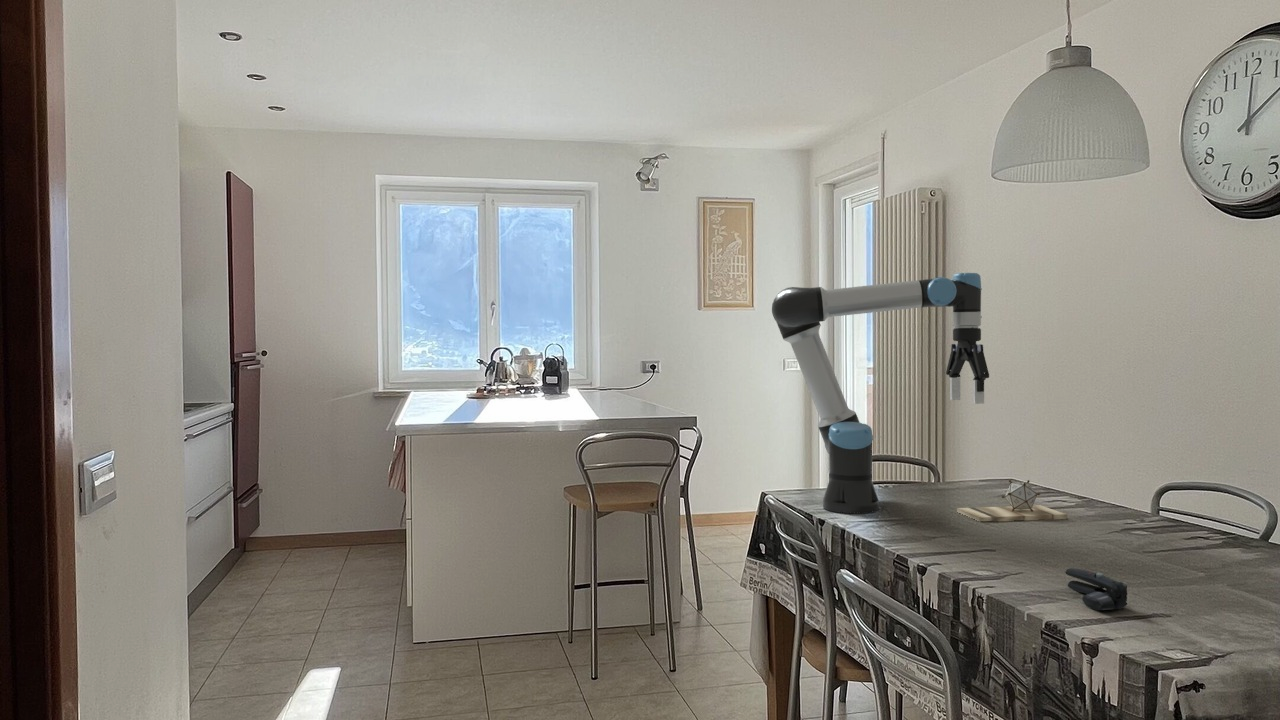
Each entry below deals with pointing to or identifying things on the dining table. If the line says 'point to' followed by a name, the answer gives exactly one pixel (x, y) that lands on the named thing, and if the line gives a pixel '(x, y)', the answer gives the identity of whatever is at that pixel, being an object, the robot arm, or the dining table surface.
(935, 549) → the dining table surface
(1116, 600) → the can opener
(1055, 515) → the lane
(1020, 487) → the game die
